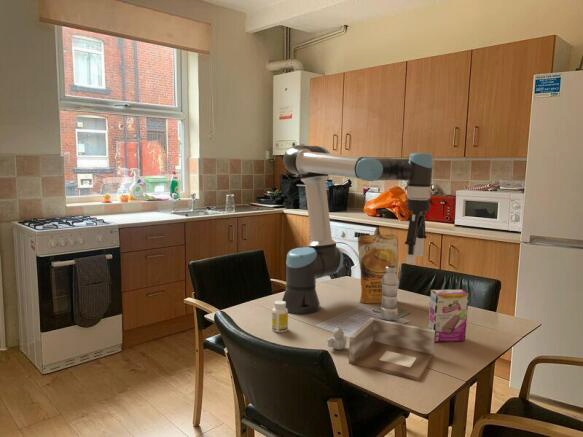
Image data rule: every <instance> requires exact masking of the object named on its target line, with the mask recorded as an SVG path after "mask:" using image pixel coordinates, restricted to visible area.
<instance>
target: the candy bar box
mask: <svg viewBox="0 0 583 437" xmlns="http://www.w3.org/2000/svg"><path fill="white" fill-rule="evenodd" d="M429 297H430V298H429V309H428V310H429V311H428V323H427V324H428V326H427V329H431V330H435V338H434V343H449V342H452V343H453V342H465V341H466V333H467V332H466V331H467V317H468V307H469V297H470V294H469V293H468V292H466V291H465V290H464V289H431V290H430V296H429Z"/></svg>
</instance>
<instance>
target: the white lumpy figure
mask: <svg viewBox="0 0 583 437" xmlns="http://www.w3.org/2000/svg"><path fill="white" fill-rule="evenodd" d="M344 336H345V331H344V330H343V329H342V327H341V324H338V325H337V326H335V328H334V329H333V330H332V336H331V337H329V338H327V340H326V342H327V346H328V348H333V349H335V350H336V351H340V350H344V349H345V348H346V346H347V339H346V338H345V337H344Z"/></svg>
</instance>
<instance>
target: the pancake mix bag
mask: <svg viewBox="0 0 583 437" xmlns="http://www.w3.org/2000/svg"><path fill="white" fill-rule="evenodd" d="M398 242H399V240H398V236H396V234H366V235H360V236H358V237H357V250H358V251H357V252H358V261H359V270H360V286H361V287H360V288H361V292H360V293H361V296H360V300H359V303H363V304H382V295H383V294H382V283H381V279H382V277H383V276H384V274H385V273H386V271H385V270H386V266H395V267H396V272H395V274H396V275H397V276H398V274H399V273H398V272H399V271H398V270H399V246H398V245H399V243H398Z"/></svg>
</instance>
